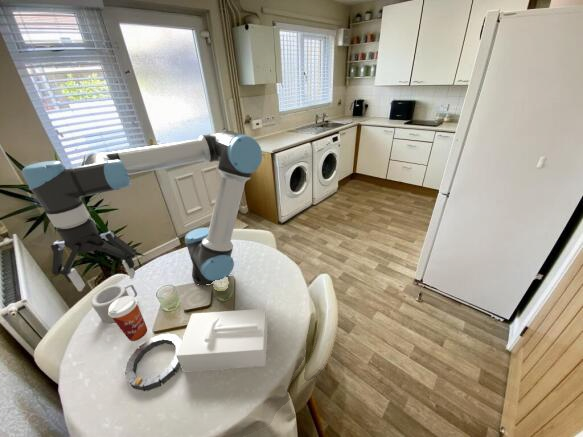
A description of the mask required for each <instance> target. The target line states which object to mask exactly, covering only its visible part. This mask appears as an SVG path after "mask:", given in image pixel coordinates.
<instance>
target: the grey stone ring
mask: <svg viewBox="0 0 583 437" xmlns="http://www.w3.org/2000/svg"><path fill="white" fill-rule="evenodd" d="M181 341H182V339H181V338H179V337H178V335H176V334H171V333H162V334H159V335H156V336H154V337H153V336H152V337H151V338H149V339H147V340H146V341H145V342H143V343H142V344H140V345H139V346H138V347H137V348H136V349H135V350H134V352H133V353H132V354H131V356H130V357H129V358H128V361H127V362H126V366H125V371H124V376H125V378H126V380H127V382H128V383H129V385H130V387H131V388H132V389H133V390H136V391H142V392H148V391H151V390H153V389H156V388H159V387H162V385H163V386H164V385H165V384H166V383H167V382H168V381H170V380H171V379H172V378H173V377H174V376H176V373H178V371H179V370H180V368H181V365H180V363H179V361H178V359H177V357H176V354H177V351H178V349H179V346H180V344H181ZM162 345H169V346H170V345H171V346H174V348H175V355H174V357H173V359H172V361H171V362H170V364H169V366H167V367H166V368H165V369H163V370H162V371H161V372H160V373H159V374H156V375H154V376H153V375H152V376H150V377H148V378H142V377H138V376H137V374H136V373H137V370H138V369H137V368H138V365H139V364H140V362H141V361H142V360H143V358H144V357H145V355H146V354H147V353H149V352H150V351H152V350H153V349H154V348H157V347H160V346H162Z"/></svg>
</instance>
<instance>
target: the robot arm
mask: <svg viewBox="0 0 583 437" xmlns="http://www.w3.org/2000/svg"><path fill="white" fill-rule="evenodd" d="M202 161H205V162H206V163H212V162H218V167H217V170H218V172H219V174H220V179H219V183H218V186H217V187H218V188H217V192H216V197H215V201H214V204H213V205H214V206H213V211H212V214H211V217H210V222H209V223H210V224H209V227H198V228H194V229H193V230H191V231H189V232H188V233H186V235H185V236H184V243H185V245H186V247H187V250H188V254H189V257H190V260H191V263H192V270H191V277H192V281H193V282H194V284H196V285H197V284H199V285H198V286H200V285H206V284H211V283H212V282H213V281H215V280H220V279H222V280H223V279H224V278H226V277H227V276H229V275H230V273H231V272H233V270H234V266H235V261H234V258H233V257H232V253H233V249H234V244H233V243H232V241H231V240H232V237H233V236H232V235H233V233H234V229H235V224H236V221H237V216H238V212H239V209H240V204H241V200H242V197H243V192H244V190H245V189H244V188H245V184H246V182H247V181H249V180H251V178H252V175H253V173H254V172H255V171H257V169H258V168H259V167H260V165H261V164H262V161H263V151H262V148H261V146H260V143H258V141H257V140H256V139H255V138H254V137H252V136H250V135H247V134H244V133H241V132H235V131H231V130H227V131H226V130H224V131H219V132H214V133H208V134H204V135H203V134H202V135H199V137H198V138H197V139H190V140H184V141H177V142H171V143H170V142H169V143H163V144H157V145H155V144H154V145H150V146H149V145H148V146H143V147H134V148H129V149H123V150H116V151H110V152H104V151H95V152H93V153H91V154H89V155H88V156H87V157H86V158H85V161H84V164H83V165H80V166H79V165H78V166H73V167H72V166H71V167H66V166H65V165H64V164H63V162H61V161H59V160H50V161H49V160H48V161H47V160H46V161H41V162H35V163H32V164H29V165H26V166H25V167H24V168H22V169H21V174H22V177H23V178H24V181H25V182H26V184H27V186H28V189H29V190H30V192H32V194H33V195H34V196H35V199H36V200H37V201H38V203H39V204H40V206H41V208H42V209H43V211H44V212H45V214H46V216H47V218H48V219H49V221H50V223H51V224H52V226H53V227H55V228H56V229H55V231H56V232H57V233H58V235H59V237H60V238H61V240H59V239H57V240H54V242H53V243H52V244H51V245H50V248H51V250H52V252H53V253H52V254H53V255H52V270H51V274H52V275H53V276H57V275H63V276H64V278H65V279H66V280H67V282H68V283H72V284H73V286H74V287H75V288H76V290H77V291H78V292H82V291H83V290H84V288H85V286H86V283H85V282H84V280H83V279H82V277H81V275H80V274H79V273H78V271H77V270H76V268H72V266H73V265H74V263H75V260H76V258H77V256H78V254H82V255H83V254H87V253H88V252H89V253H92V252H96V251H98V252H103V253H106V254H108V255H110V256H113V257H115V258H118V259H120V260H122V262H121V263H122V266H123V267H124V269H125V270H126V271H125V272H127V274H128V276H129V278H130V280H133V279H134V278H135V275H136V271H135V269H134V267H135V262H134V260H133V258H135V257H136V254H137V250H136V249H135V248H133V247H132V246H131V245H130V244H128V243H127V242H126V241H124V240H123V239H121V238H119V236H117V235H116V233H115V232H114V231H113V230H112V229H109V230H107V232H103V233H100V232H99V231H98V227H97V226H96V224H95V222H94V220H93V218H92V217H90V216H91V214H90V212H89V211H88V209H87V207H86V205H85V203H84V201H83V199H82V198H84V197H88V196H93V195H97V194H103V193H108V192H111V191H116V190H117V191H118V190H120V189H124V188H127V187H130V185H131V184H132V181H131V178H130V176H129V175H135V174H139V173H145V172H150V171H157V170H160V169H166V168H171V167H176V166H180V165H181V166H182V165H187V164H193V163H197V162H202ZM103 239H104V240H103ZM107 241H108V242H107ZM65 247H66V248H68V249H71V252H70V253H69V256H68V257H67V260H66V262H65V265H64V266H63V257H64V248H65Z"/></svg>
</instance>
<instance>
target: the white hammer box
mask: <svg viewBox="0 0 583 437" xmlns="http://www.w3.org/2000/svg"><path fill="white" fill-rule="evenodd" d="M268 330H269V323H268V316H267V309H266V308H258V309H257V308H255V309H244V310H243V309H241V310H228V311H227V310H225V311H211V312H209V311H208V312H197V313H191V315H190V318H189V320H188V323H187V326H186V328H185V330H184V333H183V337H182V339H181V344H180V346H179V349H178V351H177V354H176V353H175V356H176V357H177V359H178V361H179V363H180V365H181V366H180V368H181V369H182V372H183V373H185V372H187V373H188V372H200V371H215V370H217V371H218V370H227V369H228V370H229V369H239V368H240V369H241V368H242V369H243V368H255V367H254V366H260V367H266V366H267V354H266V349H267V348H268V334H267V332H269V331H268ZM267 350H268V349H267ZM265 365H266V366H265Z"/></svg>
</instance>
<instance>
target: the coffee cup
mask: <svg viewBox="0 0 583 437" xmlns="http://www.w3.org/2000/svg"><path fill="white" fill-rule="evenodd" d="M133 296H134V295H129V296H124V297H121V298H118V299H117V300H115V301H114V302H113V303H112V304H111V305H110V306H109V309H108V315H109V316H110V317H112V318H113V319H114V321H115V322H116V323H115V324H116V325H117V327H119V329H120V330H121V331H122V333H123V334H124V335H125V336H126V337H127V339H128V340H129V341H130V342H136V341H139V340H141V339H143V337H145V336H146V334H147V332H148V327H147V324H146V322H145V319H144V317H143V315H142V312H141V309H140V307H139V304H138V299H137V298H136V297H133Z"/></svg>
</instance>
